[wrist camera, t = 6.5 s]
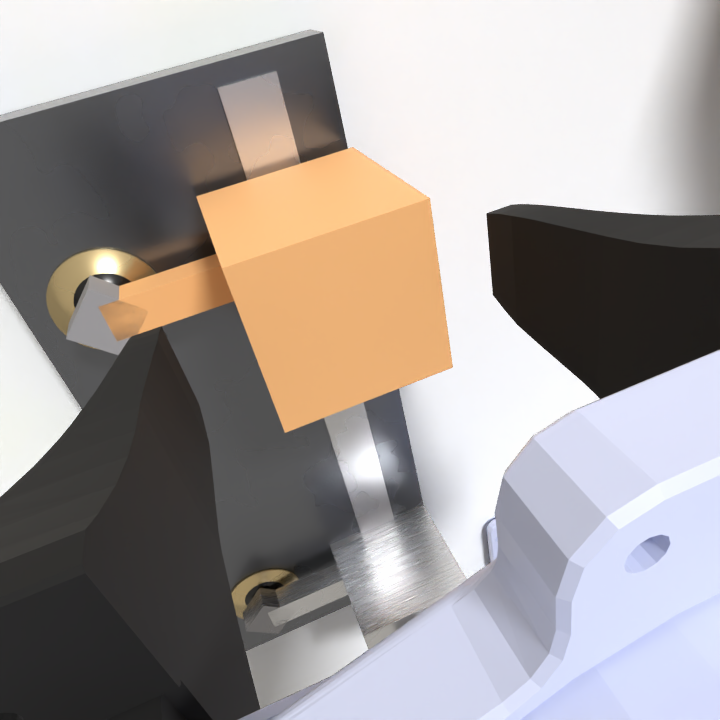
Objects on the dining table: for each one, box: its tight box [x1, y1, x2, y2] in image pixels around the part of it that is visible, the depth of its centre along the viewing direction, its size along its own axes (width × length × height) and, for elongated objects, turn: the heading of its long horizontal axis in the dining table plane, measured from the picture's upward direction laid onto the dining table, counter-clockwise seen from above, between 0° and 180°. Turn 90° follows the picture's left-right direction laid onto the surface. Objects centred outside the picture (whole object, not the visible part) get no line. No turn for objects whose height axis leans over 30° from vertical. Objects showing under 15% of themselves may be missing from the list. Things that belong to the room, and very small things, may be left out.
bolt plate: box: [0, 30, 467, 651], centre depth 17 cm, size 21×9×6 cm, turn 13°
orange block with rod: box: [66, 147, 453, 433], centre depth 13 cm, size 4×8×4 cm, turn 103°
